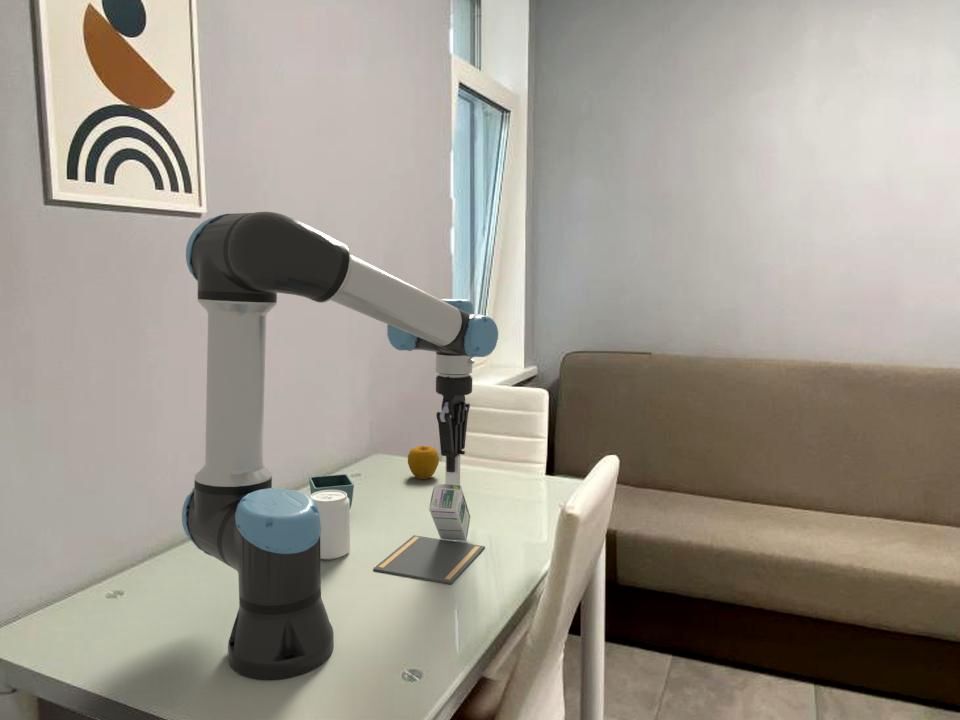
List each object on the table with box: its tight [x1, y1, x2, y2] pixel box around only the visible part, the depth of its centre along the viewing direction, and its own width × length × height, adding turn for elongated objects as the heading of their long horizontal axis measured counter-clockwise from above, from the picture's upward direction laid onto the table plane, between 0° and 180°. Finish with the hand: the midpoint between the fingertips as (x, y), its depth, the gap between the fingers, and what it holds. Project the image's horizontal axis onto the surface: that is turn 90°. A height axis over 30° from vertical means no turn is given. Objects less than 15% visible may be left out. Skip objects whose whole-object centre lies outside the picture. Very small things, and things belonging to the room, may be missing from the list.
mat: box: [372, 534, 486, 585], centre depth 139 cm, size 18×16×1 cm
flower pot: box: [308, 473, 355, 509], centre depth 160 cm, size 9×9×9 cm
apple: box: [407, 445, 440, 480], centre depth 193 cm, size 8×8×9 cm
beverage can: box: [309, 490, 351, 560], centre depth 141 cm, size 8×8×12 cm
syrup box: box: [428, 483, 471, 542], centre depth 145 cm, size 6×6×14 cm
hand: (452, 485), depth 148 cm, fingers closed
